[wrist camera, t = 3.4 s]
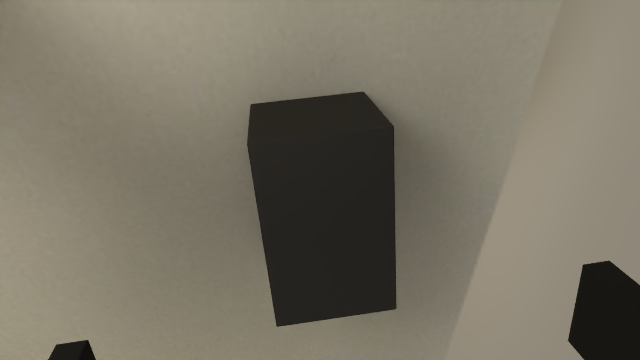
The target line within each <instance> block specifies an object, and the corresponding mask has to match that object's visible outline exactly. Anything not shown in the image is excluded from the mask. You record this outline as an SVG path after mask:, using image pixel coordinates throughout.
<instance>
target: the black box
mask: <svg viewBox="0 0 640 360" xmlns="http://www.w3.org/2000/svg"><path fill="white" fill-rule="evenodd" d="M247 146H248V152H249V158H250V165H251V171H252V177H253V183H254V189H255V196H256V202H257V208H258V214H259V220H260V227H261V233H262V239H263V245H264V251H265V258H266V264H267V270H268V276H269V282H270V289H271V295H272V301H273V307H274V313H275V320H276V326H277V327H279V326H286V325H292V324H299V323H306V322H313V321H319V320H326V319H333V318H340V317H346V316H353V315H360V314H367V313H373V312H380V311H387V310H394V309H396V251H395V181H394V126H393V125H392V124H391V123H390V122H389V120H388V119H387V118H386V117H385V116H384V115H383V114H382V112H381V111H380V110H379V109H378V108H377V107H376V106H375V104H374V103H373V102H372V101H371V100H370V99H369V97H368V96H367V95H366V94H365V93H364V92H357V93H348V94H340V95H331V96H322V97H313V98H304V99H295V100H286V101H277V102H268V103H259V104H251V106H250V117H249V129H248V141H247Z"/></svg>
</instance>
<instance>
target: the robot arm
mask: <svg viewBox="0 0 640 360" xmlns="http://www.w3.org/2000/svg"><path fill="white" fill-rule="evenodd" d="M568 341H569V342H570V344H571V345H572V346H573V347H574V348H575V349H576V351H577V352H578V353H579V354H580V355H581V356H582V358H583V359H584V360H640V285H639V284H638V283H636V282H635V281H634V280H633V279H631V278H630V277H629V276H628V275H626V274H625V273H624V272H623V271H621V270H620V269H619V268H618V267H616V266H615V265H614V264H613V263H611V262H610V261H604V262H597V263H591V264H585V265H583V268H582V273H581V278H580V283H579V288H578V293H577V298H576V303H575V308H574V313H573V318H572V323H571V328H570V334H569V338H568ZM48 360H96V359H95V356H94V354H93V351H92V349H91V346H90V344H89V341H88V340H84V341H78V342H71V343H65V344H58V345H56V346H55V348H54V350H53V352H52V354H51V355H50V357H49V359H48Z"/></svg>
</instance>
